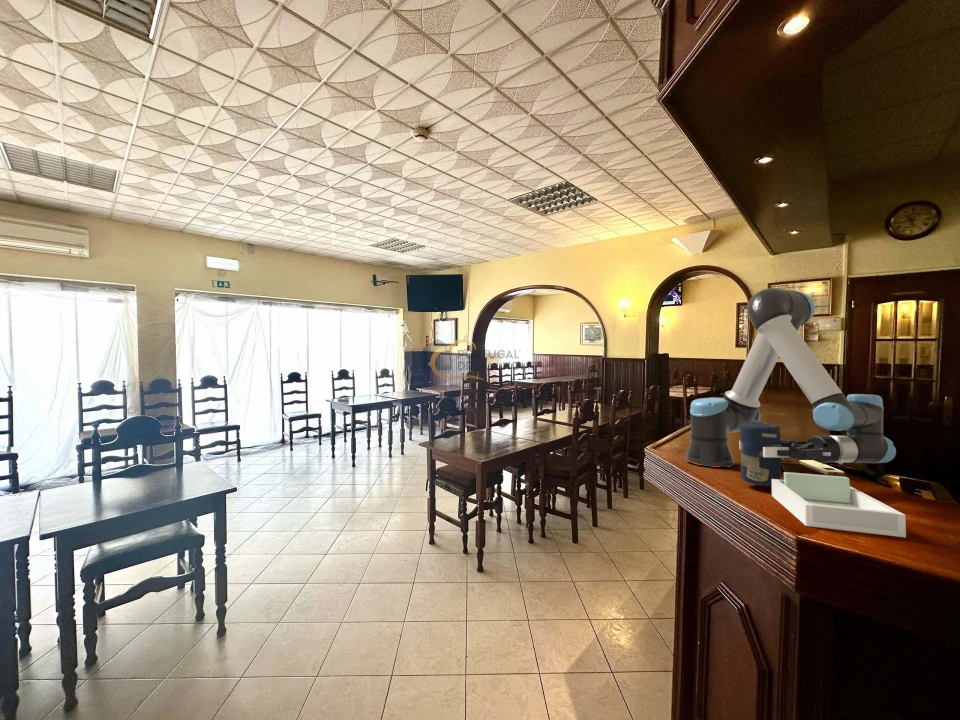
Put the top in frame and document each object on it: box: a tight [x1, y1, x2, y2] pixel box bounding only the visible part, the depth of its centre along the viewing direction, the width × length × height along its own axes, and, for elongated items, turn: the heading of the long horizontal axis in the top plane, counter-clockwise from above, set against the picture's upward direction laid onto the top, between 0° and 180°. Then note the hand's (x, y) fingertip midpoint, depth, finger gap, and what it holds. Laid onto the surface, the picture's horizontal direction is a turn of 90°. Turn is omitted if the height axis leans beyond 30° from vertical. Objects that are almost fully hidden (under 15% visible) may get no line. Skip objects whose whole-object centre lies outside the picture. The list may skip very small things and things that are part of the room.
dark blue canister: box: [739, 420, 782, 487], centre depth 113 cm, size 10×10×18 cm
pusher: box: [783, 471, 851, 503], centre depth 99 cm, size 2×13×6 cm, turn 69°
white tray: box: [771, 479, 907, 538], centre depth 93 cm, size 22×16×4 cm
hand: (751, 448), depth 113 cm, fingers closed on dark blue canister, 9 cm apart
